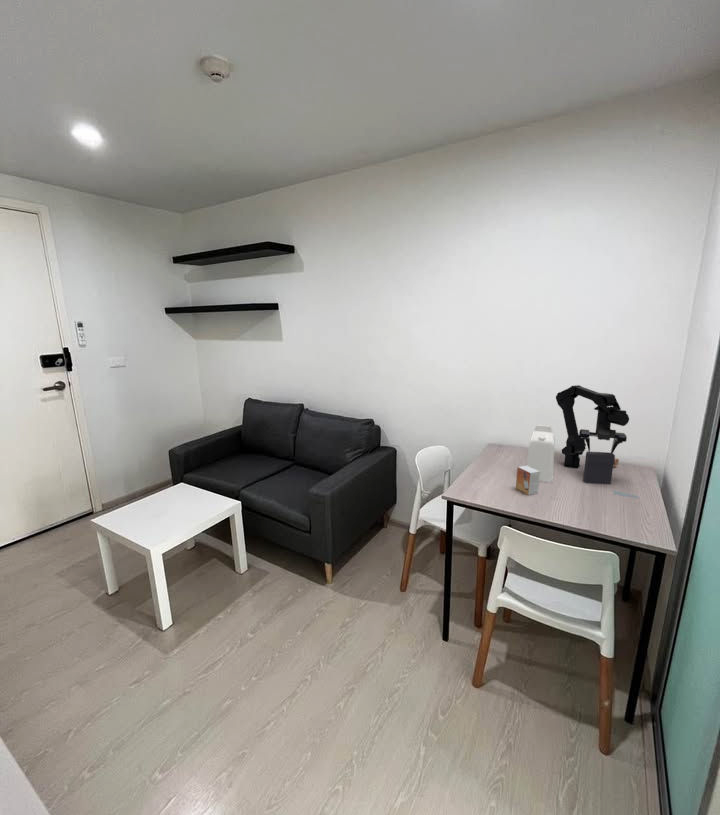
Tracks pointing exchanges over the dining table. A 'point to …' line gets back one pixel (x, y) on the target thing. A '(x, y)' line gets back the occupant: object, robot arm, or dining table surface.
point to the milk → (542, 452)
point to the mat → (624, 494)
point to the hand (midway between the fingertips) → (600, 452)
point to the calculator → (598, 467)
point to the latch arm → (616, 462)
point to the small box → (527, 480)
